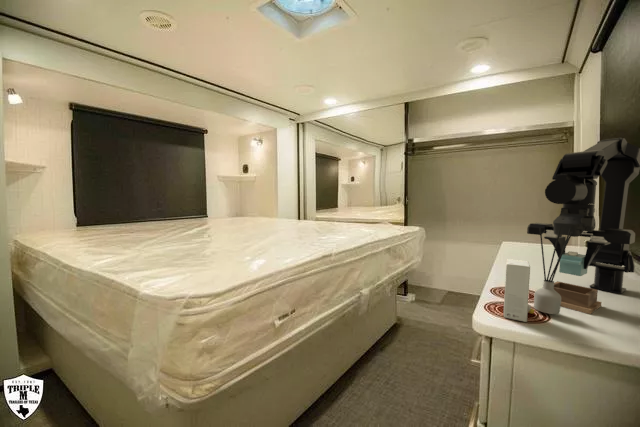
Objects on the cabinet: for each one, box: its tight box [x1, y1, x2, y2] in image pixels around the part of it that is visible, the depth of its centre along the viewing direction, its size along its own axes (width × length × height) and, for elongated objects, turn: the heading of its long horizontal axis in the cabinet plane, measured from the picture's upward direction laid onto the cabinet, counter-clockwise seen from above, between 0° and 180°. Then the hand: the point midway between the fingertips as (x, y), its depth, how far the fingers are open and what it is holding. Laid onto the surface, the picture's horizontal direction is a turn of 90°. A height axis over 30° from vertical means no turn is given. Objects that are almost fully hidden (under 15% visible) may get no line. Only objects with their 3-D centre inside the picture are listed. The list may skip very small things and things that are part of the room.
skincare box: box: [503, 258, 531, 323], centre depth 61 cm, size 6×4×12 cm
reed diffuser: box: [527, 226, 572, 315], centre depth 61 cm, size 10×7×20 cm
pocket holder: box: [554, 280, 602, 315], centre depth 69 cm, size 9×9×4 cm
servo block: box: [556, 251, 588, 277], centre depth 69 cm, size 9×4×5 cm, turn 123°
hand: (573, 266), depth 69 cm, fingers closed on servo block, 4 cm apart
